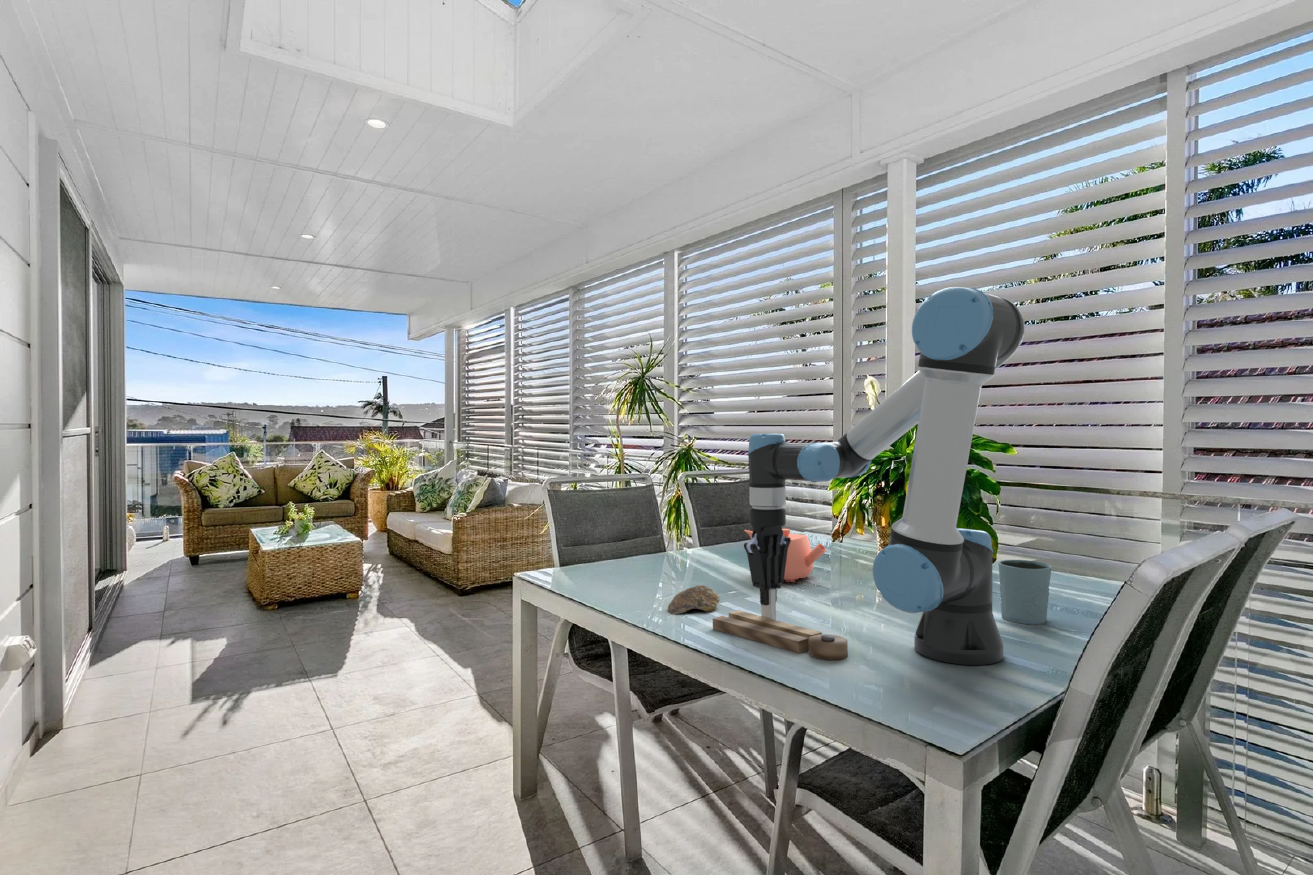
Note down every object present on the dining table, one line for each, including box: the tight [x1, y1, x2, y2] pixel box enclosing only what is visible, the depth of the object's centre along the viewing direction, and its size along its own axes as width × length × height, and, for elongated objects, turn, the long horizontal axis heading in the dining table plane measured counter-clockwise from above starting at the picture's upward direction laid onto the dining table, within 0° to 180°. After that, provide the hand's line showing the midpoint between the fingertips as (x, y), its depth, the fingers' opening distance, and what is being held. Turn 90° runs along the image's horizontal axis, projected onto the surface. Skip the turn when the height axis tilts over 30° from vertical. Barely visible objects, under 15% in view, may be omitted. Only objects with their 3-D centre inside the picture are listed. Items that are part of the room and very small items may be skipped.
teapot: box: [744, 528, 827, 583], centre depth 192 cm, size 18×18×14 cm
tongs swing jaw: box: [728, 610, 823, 647], centre depth 140 cm, size 22×3×2 cm, turn 40°
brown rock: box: [667, 584, 721, 615], centre depth 161 cm, size 10×12×5 cm
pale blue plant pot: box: [997, 559, 1052, 625], centre depth 149 cm, size 10×10×12 cm
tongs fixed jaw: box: [712, 615, 849, 661], centre depth 136 cm, size 30×7×3 cm, turn 42°
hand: (768, 619), depth 144 cm, fingers closed
